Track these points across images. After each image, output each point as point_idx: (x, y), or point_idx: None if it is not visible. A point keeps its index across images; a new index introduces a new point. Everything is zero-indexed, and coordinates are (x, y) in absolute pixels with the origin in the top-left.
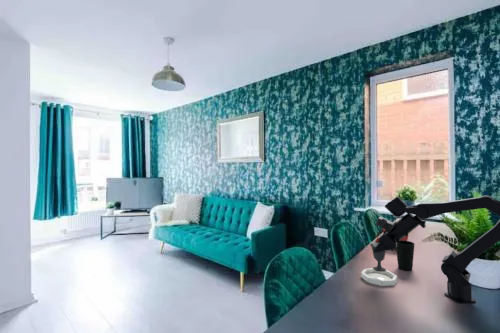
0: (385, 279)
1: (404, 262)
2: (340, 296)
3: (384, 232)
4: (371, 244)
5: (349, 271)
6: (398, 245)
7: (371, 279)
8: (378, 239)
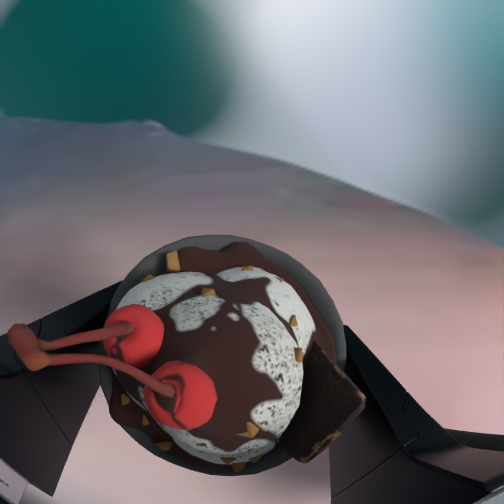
0: None
1: None
2: (26, 186)
3: (480, 501)
4: (257, 257)
5: (280, 196)
6: None
7: None
8: (161, 366)
